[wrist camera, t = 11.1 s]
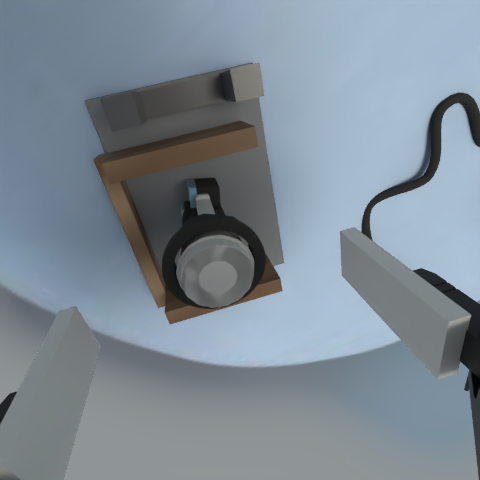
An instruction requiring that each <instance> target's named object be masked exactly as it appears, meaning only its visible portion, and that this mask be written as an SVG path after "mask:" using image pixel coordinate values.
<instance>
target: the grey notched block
mask: <svg viewBox="0 0 480 480" xmlns="http://www.w3.org/2000/svg"><path fill="white" fill-rule="evenodd" d="M261 96H264V92H263V85H262V78H261V71H260V64H259V63H255V64H250V65H246V66H242V67H237V68H233V69H229V70H227V71H224V72H222V73H219V74H215V75H210V76H206V77H202V78H197V79H193V80H188V81H184V82H180V83H175V84H171V85H166V86H162V87H158V88H153V89H149V90H144V91H140V92H127V93H123V94H118V95H114V96H109V97H105V98H101V99H100V102H101V104H102V107H103V109H104V112H105V114H106V117H107V120H108V122H109V125H110V127H111V130H112V132H113V131H117V130H122V129H126V128H130V127H134V126H138V125H142V124H143V123H144V122H145V121H146V120H147V119H150V118H154V117H158V116H162V115H167V114H171V113H175V112H179V111H184V110H188V109H192V108H196V107H201V106H205V105H209V104H213V103H218V102H222V101H231V102H240V101H244V100H248V99H252V98H256V97H261Z"/></svg>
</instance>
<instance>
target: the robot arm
mask: <svg viewBox="0 0 480 480" xmlns="http://www.w3.org/2000/svg"><path fill="white" fill-rule="evenodd" d="M340 242H341V266H342V276H343V277H344V278H345V279H346V280H347V282H348V283H349V284H350V285H351V286H352V287H353V288H354V289H355V290H356V291H357V292H358V294H359V295H360V296H361V297H362V298H363V299H364V300H365V301H366V302H367V303H368V304H369V306H370V307H371V308H372V309H373V310H374V311H375V312H376V313H377V314H378V315H379V316H380V317H381V319H382V320H383V321H384V322H385V323H386V324H387V325H388V326H389V327H390V328H391V329H392V331H393V332H394V333H395V334H396V335H397V336H398V337H399V338H400V339H401V340H402V341H403V343H404V344H405V345H406V346H407V347H408V348H409V349H410V350H411V351H412V352H413V353H414V354H415V355H416V357H417V358H418V359H419V360H420V361H421V362H422V363H423V364H424V365H425V366H426V368H427V369H428V370H429V371H430V372H431V373H432V374H433V375H434V376H435V377H436V378H437V379H441V378H443V377H447V376H450V375H453V374H455V373H457V372H458V368H459V364H460V361H461V362H462V363H463V364H464V365H465V366H466V367H467V368H468V369H469V374H468V377H467V381H466V384H465V389H464V390H466V391H468V390H470V398H471V409H472V417H473V427H474V436H475V446H476V455H477V465H478V475H479V480H480V304H478V303H477V302H476V301H474V300H473V299H471V298H470V297H468V296H467V295H466V294H464V293H463V292H461V291H460V290H458V289H456V288H455V287H454V286H453V285H451V284H450V283H447V282H446V281H445V280H444V279H442V278H441V277H440V276H438V275H437V274H435V273H432V272H430V271H427V270H424V269H422V268H421V269H417V270H414V271H412V270H411V269H409V268H408V267H407V266H405V265H404V264H403V263H401V262H400V261H399V260H397V259H396V258H395V257H393V256H392V255H391V254H389V253H388V252H387V251H385V250H384V249H383V248H381V247H380V246H379V245H377V244H376V243H375V242H373V241H372V240H371V239H369V238H368V237H367V236H365V235H364V234H363V233H361V232H360V231H359V230H357V229H356V228H355V227H354V228H350V229H347V230H343V231H340ZM100 349H101V346H100V345H99V343H98V341H97V340H96V338H95V336H94V335H93V333H92V332H91V330H90V328H89V327H88V325H87V323H86V322H85V320H84V319H83V317H82V315H81V314H80V312H79V310H78V309H77V307H76V306H75V307H72V308H68V309H65V310H61V311H59V312H58V314H57V316H56V318H55V320H54V322H53V324H52V326H51V328H50V330H49V332H48V334H47V336H46V338H45V339H44V341H43V343H42V345H41V347H40V349H39V351H38V353H37V355H36V357H35V359H34V361H33V363H32V364H31V366H30V369H29V370H28V372H27V374H26V376H25V378H24V380H23V382H22V384H21V386H20V388H19V389H18V391H17V392H14V393H11V394H9V395H8V396H7V397H6V398H5V400H4V401H3V402H2V403H1V404H0V480H64V476H65V472H66V469H67V466H68V462H69V459H70V455H71V451H72V448H73V445H74V441H75V437H76V434H77V430H78V426H79V423H80V420H81V416H82V412H83V409H84V406H85V402H86V398H87V395H88V391H89V388H90V384H91V381H92V377H93V374H94V370H95V367H96V363H97V360H98V356H99V352H100Z"/></svg>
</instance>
